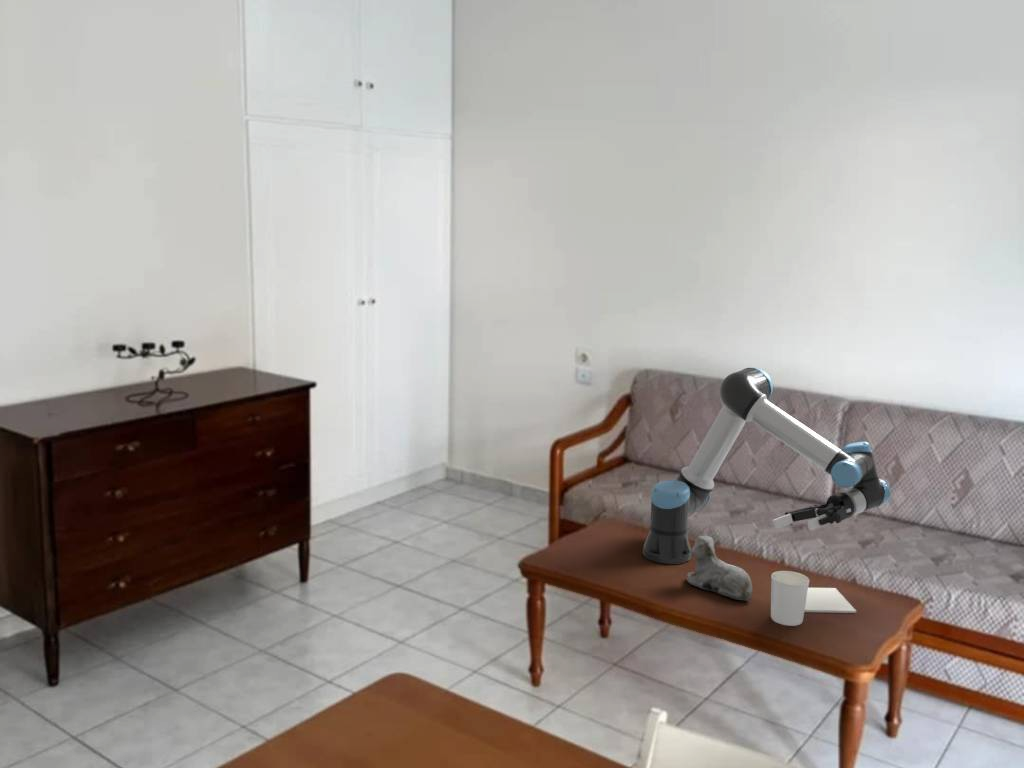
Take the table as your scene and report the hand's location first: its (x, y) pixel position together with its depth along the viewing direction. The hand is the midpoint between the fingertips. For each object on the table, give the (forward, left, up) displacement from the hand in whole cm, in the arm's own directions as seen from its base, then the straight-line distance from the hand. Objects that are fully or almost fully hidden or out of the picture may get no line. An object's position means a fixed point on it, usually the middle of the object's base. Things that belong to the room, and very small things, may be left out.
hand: (791, 525), depth 259 cm
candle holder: (+10, -3, -23) cm, 26 cm away
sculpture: (-9, -17, -23) cm, 30 cm away
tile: (-3, +10, -23) cm, 26 cm away
